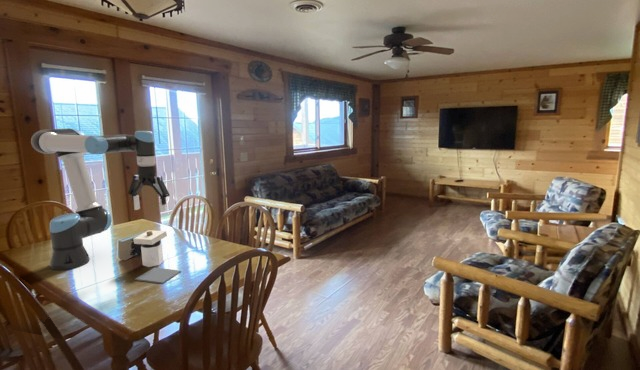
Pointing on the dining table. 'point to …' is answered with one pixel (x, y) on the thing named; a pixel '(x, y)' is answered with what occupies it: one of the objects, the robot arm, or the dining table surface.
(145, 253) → the jar
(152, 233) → the lid
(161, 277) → the mat
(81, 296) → the dining table surface
